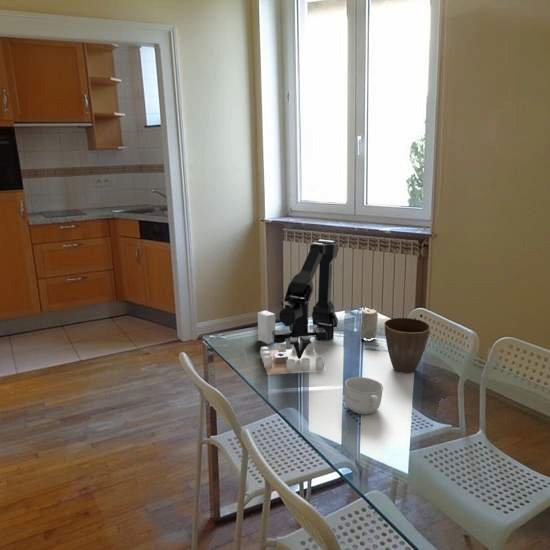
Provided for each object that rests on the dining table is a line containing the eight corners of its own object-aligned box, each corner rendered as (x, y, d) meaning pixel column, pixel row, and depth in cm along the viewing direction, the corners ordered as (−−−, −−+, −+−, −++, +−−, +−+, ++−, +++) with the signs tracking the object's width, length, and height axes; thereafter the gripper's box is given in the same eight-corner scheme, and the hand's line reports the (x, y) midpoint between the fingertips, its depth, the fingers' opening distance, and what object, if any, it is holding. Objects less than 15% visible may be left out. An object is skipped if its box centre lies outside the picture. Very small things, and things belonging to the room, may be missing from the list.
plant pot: (394, 380, 167) (397, 334, 163) (373, 362, 181) (376, 319, 177) (435, 376, 171) (439, 330, 167) (411, 358, 185) (415, 316, 181)
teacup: (340, 400, 153) (341, 376, 152) (375, 399, 154) (377, 375, 152) (350, 425, 140) (352, 398, 138) (389, 424, 141) (391, 397, 139)
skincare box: (276, 343, 197) (276, 313, 194) (267, 346, 194) (267, 316, 191) (266, 339, 201) (266, 309, 198) (257, 341, 199) (257, 311, 196)
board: (313, 350, 191) (313, 339, 189) (327, 373, 171) (327, 361, 170) (258, 353, 187) (258, 341, 186) (266, 377, 168) (266, 364, 167)
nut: (285, 358, 181) (285, 351, 180) (287, 363, 177) (288, 356, 176) (273, 359, 180) (273, 352, 180) (275, 364, 176) (275, 357, 175)
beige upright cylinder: (357, 341, 200) (359, 312, 197) (362, 335, 207) (363, 306, 204) (373, 344, 197) (375, 314, 194) (377, 337, 204) (379, 308, 201)
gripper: (321, 307, 185) (319, 347, 189) (269, 309, 182) (269, 350, 186) (328, 317, 174) (327, 360, 178) (274, 320, 171) (273, 363, 175)
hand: (299, 358), depth 180 cm, fingers closed
